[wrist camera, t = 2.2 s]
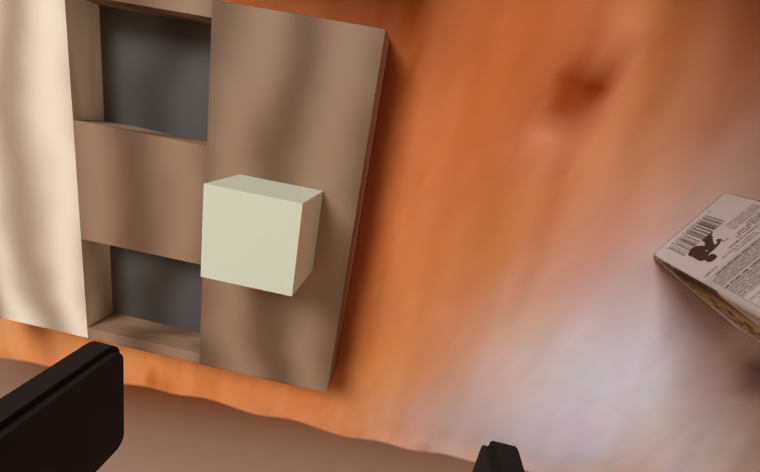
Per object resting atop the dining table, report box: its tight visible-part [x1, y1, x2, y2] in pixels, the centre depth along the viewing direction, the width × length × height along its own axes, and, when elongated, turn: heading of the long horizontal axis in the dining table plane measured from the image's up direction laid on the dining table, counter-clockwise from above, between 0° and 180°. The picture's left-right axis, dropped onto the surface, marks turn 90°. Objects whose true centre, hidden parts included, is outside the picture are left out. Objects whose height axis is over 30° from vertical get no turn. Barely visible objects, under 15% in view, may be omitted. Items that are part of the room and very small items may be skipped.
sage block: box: [201, 174, 323, 296], centre depth 25 cm, size 6×6×4 cm
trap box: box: [0, 0, 390, 393], centre depth 28 cm, size 32×27×6 cm
